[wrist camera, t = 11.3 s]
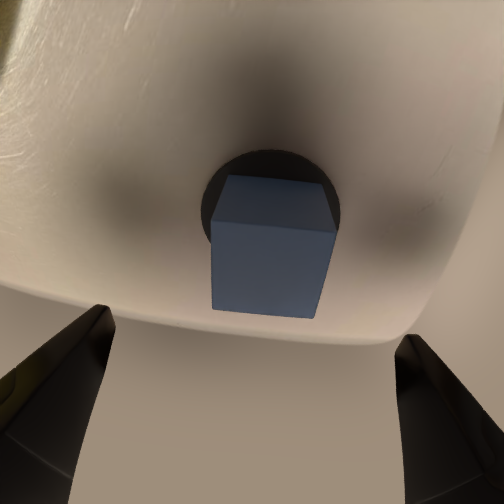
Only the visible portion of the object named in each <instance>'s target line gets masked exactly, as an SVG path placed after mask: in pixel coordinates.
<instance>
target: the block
mask: <svg viewBox="0 0 504 504" xmlns="http://www.w3.org/2000/svg"><path fill="white" fill-rule="evenodd" d="M336 235H337V231H336V227H335V224H334V221H333V218H332V214H331V211H330V208H329V205H328V202H327V198H326V195H325V192H324V189H323V186H322V184H317V183H309V182H301V181H292V180H283V179H273V178H263V177H252V176H241V175H228V178H227V180H226V183H225V185H224V188H223V190H222V193H221V195H220V198H219V200H218V203H217V205H216V208H215V211H214V213H213V216H212V218H211V285H212V309H214V310H223V311H232V312H241V313H251V314H261V315H272V316H284V317H296V318H309V319H313V318H314V316H315V313H316V309H317V306H318V302H319V299H320V295H321V292H322V288H323V285H324V281H325V278H326V274H327V270H328V267H329V263H330V259H331V255H332V251H333V247H334V243H335V239H336Z"/></svg>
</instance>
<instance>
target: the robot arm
mask: <svg viewBox="0 0 504 504" xmlns="http://www.w3.org/2000/svg"><path fill="white" fill-rule="evenodd" d="M115 328H116V326H115V322H114V319H113V316H112V313H111V310H110V308H109V307H108V306H106V305H100V304H97V305H95V306H93V307H92V308H90V309H89V310H88V311H87V312H85V313H84V314H82V315H81V316H80V317H79V318H77V319H76V320H74V321H73V322H72V323H71V324H69V325H68V326H67V327H65V328H64V329H63V330H61V331H60V332H59V333H57V334H56V335H55V336H54V337H52V338H51V339H50V340H49V341H47V342H46V343H45V344H43V345H42V346H41V347H40V348H38V349H37V350H36V351H35V352H33V353H32V354H31V355H30V356H28V357H27V358H26V359H25V360H24V361H22V362H21V363H20V364H18V365H17V366H16V368H13V369H12V370H11V371H10V372H9V373H7V374H6V375H5V376H4V377H2V378H1V379H0V504H68V500H69V495H70V491H71V486H72V482H73V477H74V473H75V469H76V465H77V461H78V457H79V454H80V450H81V446H82V443H83V439H84V436H85V432H86V429H87V426H88V423H89V419H90V416H91V413H92V410H93V406H94V403H95V400H96V397H97V394H98V391H99V388H100V385H101V383H102V379H103V377H104V373H105V370H106V366H107V362H108V357H109V353H110V349H111V345H112V341H113V337H114V333H115ZM395 372H396V396H397V406H398V413H399V422H400V431H401V441H402V452H403V466H404V483H405V504H504V432H503V431H502V430H501V429H500V428H499V427H498V426H497V424H496V423H495V422H494V421H493V420H492V418H491V417H490V416H489V415H488V414H487V413H486V411H485V410H483V408H482V406H481V405H480V404H479V403H478V402H477V400H476V399H475V398H474V397H473V396H472V394H471V393H470V392H469V391H468V390H467V388H466V387H465V386H464V385H463V384H462V383H461V381H460V380H459V379H458V378H457V377H456V376H455V375H454V373H453V372H452V371H451V370H450V369H449V368H448V367H447V365H446V364H445V363H444V362H443V361H442V360H441V359H440V358H439V357H438V355H437V354H436V353H435V352H434V351H433V350H432V349H431V348H430V347H429V346H428V344H427V343H426V342H425V341H424V340H423V339H422V338H421V337H420V336H419V335H417V334H407V335H405V336H404V338H403V339H402V341H401V343H400V344H399V346H398V348H397V349H396V351H395Z"/></svg>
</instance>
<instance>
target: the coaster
mask: <svg viewBox="0 0 504 504" xmlns="http://www.w3.org/2000/svg"><path fill="white" fill-rule="evenodd" d="M228 175H241V176H252V177H263V178H273V179H283V180H292V181H301V182H309V183H317V184H322V186H323V189H324V192H325V195H326V198H327V202H328V205H329V208H330V211H331V214H332V218H333V221H334V224H335V227H336V231H337V232H338V229H339V224H340V214H341V213H340V204H339V199H338V196H337V193H336V191H335V189H334V186H333V184H332V183H331V181H330V179H329V178H328V177H327V175H326V174H325V173H324V172H323V171H322V170H321V169H320V168H319V167H318V166H317V165H315V164H314V163H313V162H311V161H310V160H308V159H306V158H304V157H302V156H300V155H298V154H295V153H292V152H288V151H284V150H275V149H264V150H256V151H251V152H248V153H245V154H242V155H240V156H238V157H236V158H234V159H232V160H230V161H229V162H227V163H226V164H225V165H224V166H222V167H221V168H220V169H219V170H218V171H217V172H216V174H215V175H214V176H213V177H212V179H211V181H210V182H209V184H208V186H207V188H206V190H205V192H204V195H203V199H202V204H201V220H202V225H203V229H204V231H205V234H206V236H207V238H208V240H209V242H210V243H211V218H212V216H213V213H214V211H215V208H216V205H217V203H218V200H219V198H220V195H221V193H222V190H223V188H224V185H225V183H226V180H227V178H228Z"/></svg>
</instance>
